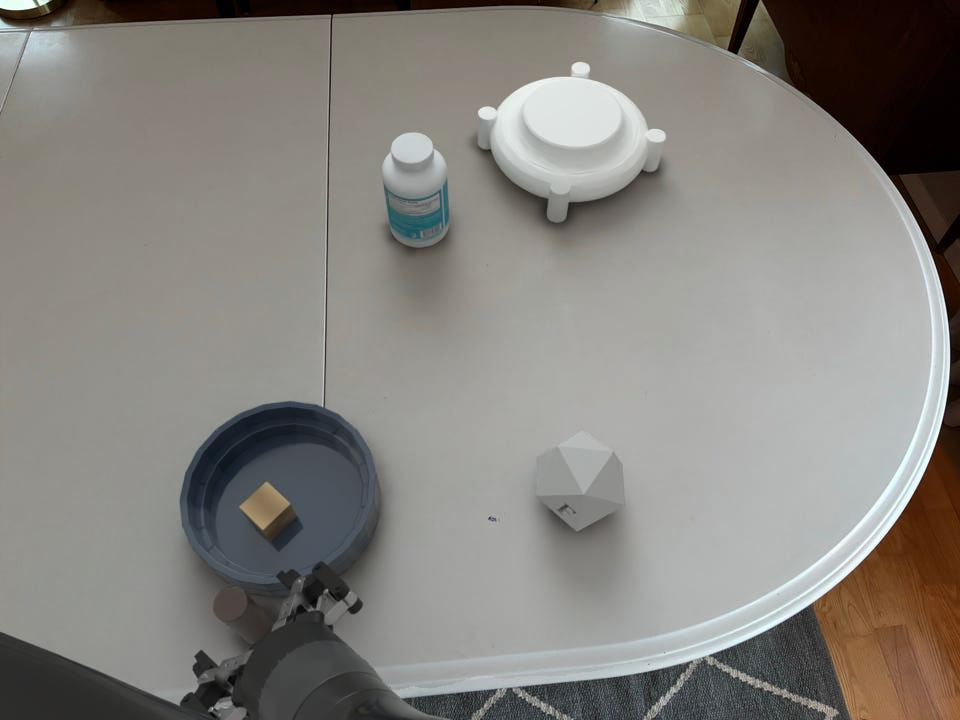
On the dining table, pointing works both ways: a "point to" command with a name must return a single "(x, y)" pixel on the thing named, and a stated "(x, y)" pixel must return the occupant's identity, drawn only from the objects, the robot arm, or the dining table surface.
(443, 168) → the pill bottle
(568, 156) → the round stand with pegs
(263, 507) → the block
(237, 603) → the brown cylinder
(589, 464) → the die
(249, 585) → the bowl
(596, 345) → the dining table surface
